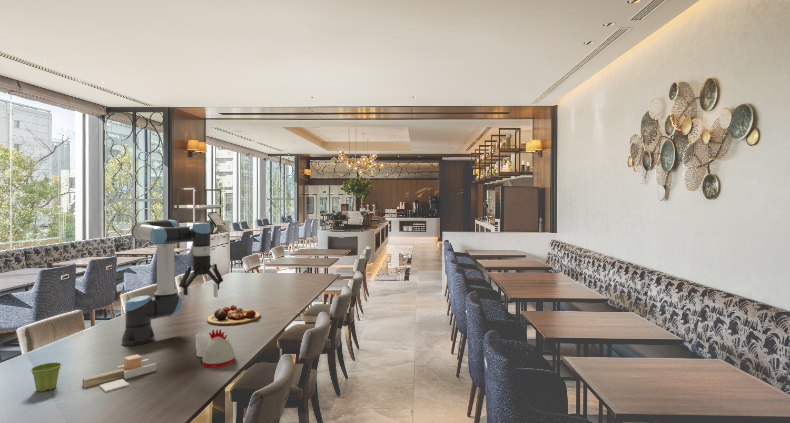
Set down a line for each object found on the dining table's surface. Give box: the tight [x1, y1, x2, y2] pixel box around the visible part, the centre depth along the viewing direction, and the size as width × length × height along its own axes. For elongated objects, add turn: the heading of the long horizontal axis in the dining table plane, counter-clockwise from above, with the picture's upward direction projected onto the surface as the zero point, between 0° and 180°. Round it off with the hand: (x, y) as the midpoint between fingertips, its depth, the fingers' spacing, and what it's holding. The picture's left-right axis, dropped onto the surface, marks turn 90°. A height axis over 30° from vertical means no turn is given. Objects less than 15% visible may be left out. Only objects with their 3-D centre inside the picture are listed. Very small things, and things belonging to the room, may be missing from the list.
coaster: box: [98, 378, 130, 393], centre depth 167 cm, size 8×8×1 cm
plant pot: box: [30, 361, 63, 392], centre depth 165 cm, size 9×9×9 cm
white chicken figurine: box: [201, 328, 236, 368], centre depth 194 cm, size 14×14×15 cm
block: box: [123, 354, 143, 371], centre depth 180 cm, size 5×5×7 cm
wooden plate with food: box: [206, 304, 261, 327], centre depth 268 cm, size 32×32×8 cm
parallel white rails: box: [117, 358, 157, 380], centre depth 181 cm, size 9×12×3 cm
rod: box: [82, 369, 125, 388], centre depth 172 cm, size 3×14×3 cm, turn 140°
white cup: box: [195, 331, 212, 358], centre depth 203 cm, size 8×8×10 cm
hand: (201, 299), depth 200 cm, fingers open, 13 cm apart
